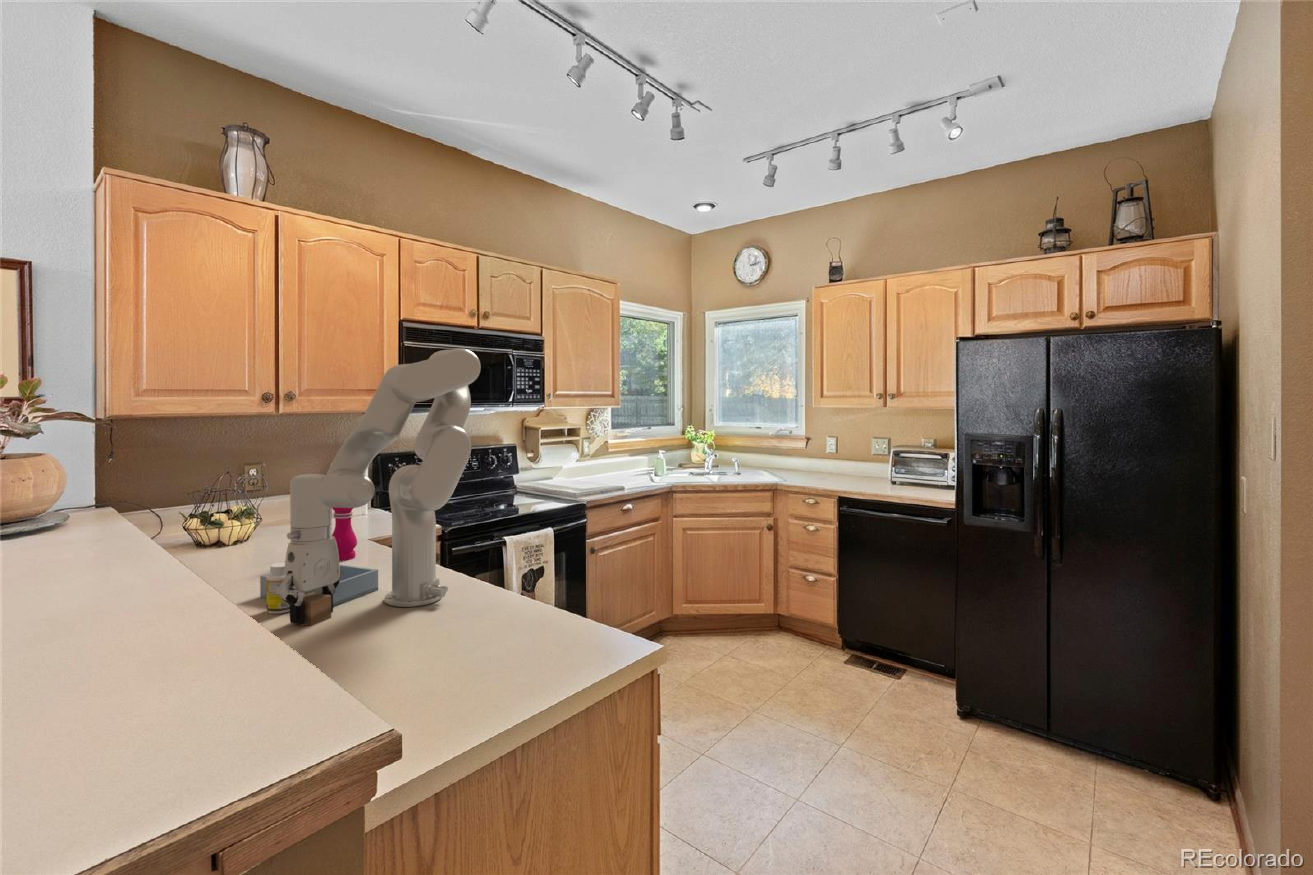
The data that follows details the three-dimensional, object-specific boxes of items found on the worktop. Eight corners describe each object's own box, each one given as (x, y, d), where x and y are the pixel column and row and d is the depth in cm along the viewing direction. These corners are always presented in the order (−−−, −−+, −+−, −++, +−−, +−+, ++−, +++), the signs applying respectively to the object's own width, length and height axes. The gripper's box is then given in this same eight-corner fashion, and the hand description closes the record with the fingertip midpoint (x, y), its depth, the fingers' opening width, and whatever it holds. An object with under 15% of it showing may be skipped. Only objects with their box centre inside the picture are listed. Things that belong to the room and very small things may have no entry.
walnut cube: (331, 618, 128) (331, 595, 128) (311, 626, 123) (311, 602, 123) (313, 615, 130) (313, 592, 129) (292, 622, 125) (292, 599, 125)
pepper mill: (336, 562, 171) (336, 493, 170) (324, 558, 175) (324, 490, 174) (361, 557, 177) (361, 490, 176) (349, 553, 181) (349, 487, 180)
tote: (378, 589, 148) (378, 569, 147) (328, 608, 134) (328, 586, 133) (313, 580, 154) (313, 561, 154) (260, 597, 140) (260, 576, 140)
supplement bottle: (277, 605, 135) (276, 560, 134) (301, 606, 135) (301, 561, 134) (260, 614, 129) (259, 567, 128) (286, 615, 129) (285, 568, 128)
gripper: (287, 544, 116) (288, 634, 117) (358, 527, 132) (358, 607, 133) (259, 540, 118) (260, 629, 119) (331, 524, 135) (332, 603, 136)
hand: (312, 616), depth 126 cm, fingers open, 6 cm apart
